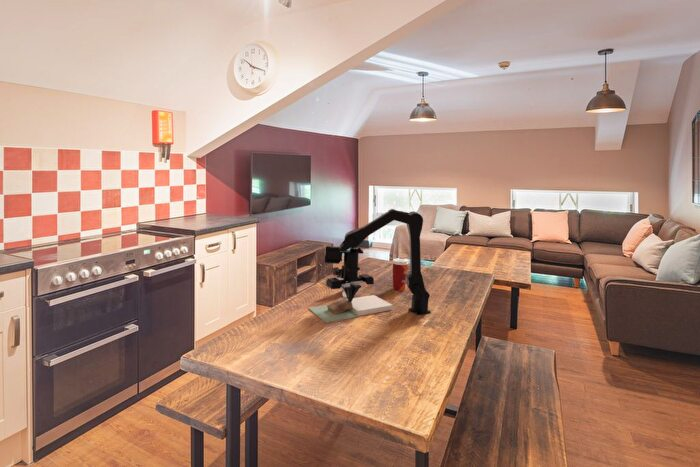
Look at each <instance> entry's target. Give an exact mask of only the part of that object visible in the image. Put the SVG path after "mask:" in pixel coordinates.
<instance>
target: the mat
mask: <svg viewBox="0 0 700 467" xmlns="http://www.w3.org/2000/svg"><path fill="white" fill-rule="evenodd" d="M327 305H328V304H326V305H318V306H312V307H308V310H309V311H310V312H312V313H313V314H314V315H316V316H317V317H318V318H319V319H320V320H322V322H324V323H331V322H332V323H333V322H339V321H342V320H349V319H355V318H359V317H360V316H359V315H357V314H356V313H354V312H352V311H351V310H346V311H343V312H341V313H338V314H336V315H334V314H333V313H332V312H330V311H329V310H328V307H327Z"/></svg>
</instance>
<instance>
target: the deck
mask: <svg viewBox="0 0 700 467" xmlns="http://www.w3.org/2000/svg"><path fill="white" fill-rule="evenodd" d="M345 299H346V300H348V299H347V298H345ZM351 303H352V306H353V308H351V309H349V310H351V311H352V312H354V313H356V314H357V315H359V317H361V316H364V315H365V316H366V315H371V314H377V313H381V312H387V311H393V304H392V303H390V302H388V301H385V299H382V298H380V297H378V296H376V295H375V294H372V295H366V296H360V297H354V298H353V300H352V302H351Z"/></svg>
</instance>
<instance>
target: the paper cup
mask: <svg viewBox="0 0 700 467" xmlns="http://www.w3.org/2000/svg"><path fill="white" fill-rule="evenodd" d="M391 262H392V289H393V291H397V292H404V291H405V290H406V286H407V284H406V280H407V278H406V274H408V267H409V266H408V265H410V262H409V260H408V259H406V258H393V259H392V261H391Z"/></svg>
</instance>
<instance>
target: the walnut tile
mask: <svg viewBox="0 0 700 467" xmlns="http://www.w3.org/2000/svg"><path fill="white" fill-rule="evenodd" d="M346 299H347V298H343V299H340V300H337V301H335V302H331V303H330V304H326V305H327V307H328V310H329V311H330V312H332V313H333V314H334V315H336V314H338V313H341V312H343V311H346V310H349V309H351V308H353V306H352V303H351V302H349V301H348V300H346Z"/></svg>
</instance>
